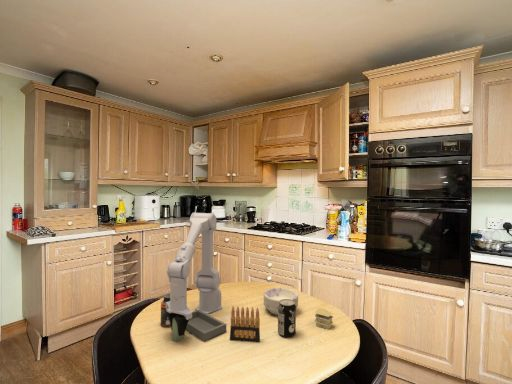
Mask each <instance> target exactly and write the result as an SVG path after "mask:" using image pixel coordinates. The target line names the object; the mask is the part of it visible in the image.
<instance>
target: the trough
mask: <svg viewBox="0 0 512 384" xmlns="http://www.w3.org/2000/svg"><path fill="white" fill-rule="evenodd" d="M191 312H192V318H191V319H190V320H189V322H188V324H187V327H186V331H185V332H188V333H190V334H191V335H192V336H194V337H195V338H197V339H198V340H200V341H202V342H204V343H206V342H208V341H210V340H213V339H215V338H216V337H218V336H221V335H223V334H224V333H227V323H226V322H223V321H221V320H219V319H217V318H215V317H214V316H211V315H209V314H206V313H204V312H202V311H200V310H196V309H195V310H194V311H191Z"/></svg>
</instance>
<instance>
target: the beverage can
mask: <svg viewBox="0 0 512 384" xmlns="http://www.w3.org/2000/svg"><path fill="white" fill-rule="evenodd" d="M296 315H297V308H296V305H295V302H294V301H293V300H290V299H282V300H280V301H279V305H278V315H277V332H278V335H280V337H282V338H292V337H294V335H296V332H297V331H296V329H297V326H296V325H297V323H296V321H297V318H296V317H297V316H296Z"/></svg>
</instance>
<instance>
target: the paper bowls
mask: <svg viewBox="0 0 512 384" xmlns="http://www.w3.org/2000/svg"><path fill="white" fill-rule="evenodd" d="M282 299H290V300H293V301H294V302H295V305H296V309H297V308H298V306H299V295H298V293H297V292H296V291H295V290H293V289H290V288H285V287H272V288H269V289H267V290H265V291H264V293H263V306H264V307H265V308H266V309H268V311H269V312H270V313H271V314H273V315H276V316H278V305H279V301H280V300H282Z"/></svg>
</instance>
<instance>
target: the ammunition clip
mask: <svg viewBox="0 0 512 384" xmlns="http://www.w3.org/2000/svg"><path fill="white" fill-rule="evenodd" d="M259 310H260V309H259V307H256V309H255V310H254V307H252V306H251V309H250V308H249V307H248V306H247V307H246V309H245V308H244V306H242V307H241V310H240V307H239V306H237V307H236V312H235V307H234V305H232V307H231V312H230V313H231V314H230V315H231V316H230V327H229V329H230V330H229V341H231V342H232V341H233V342H235V341H236V342H249V343H260V342H261V333H260V332H261V329H260V327H261V326H260V323H261V322H260V320H261V319H260V311H259Z"/></svg>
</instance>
